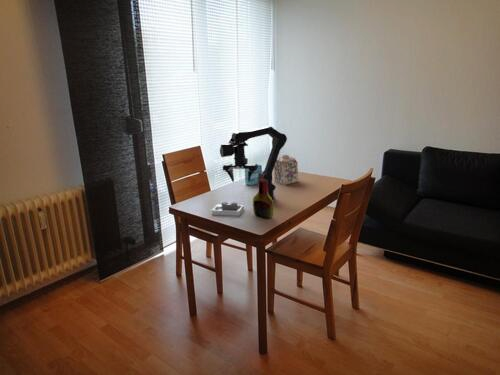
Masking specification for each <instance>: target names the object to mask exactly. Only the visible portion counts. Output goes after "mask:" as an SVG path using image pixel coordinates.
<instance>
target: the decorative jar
mask: <svg viewBox="0 0 500 375" xmlns="http://www.w3.org/2000/svg"><path fill="white" fill-rule="evenodd" d="M298 166H299V165H298V161H297V159H296V158H295V157H292V156H290V155H289V154H283V155H281V157H278V158H277V161H276V163H275V166H274V169H273V174H274V175H273V176H274V177H273V178H274V182H276V183H278V184H280V185H283V186H286V185H290V184H294V183H297V182H298V180H299V172H298V171H299V168H298Z"/></svg>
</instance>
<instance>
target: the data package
mask: <svg viewBox="0 0 500 375" xmlns="http://www.w3.org/2000/svg"><path fill="white" fill-rule="evenodd" d="M256 164H257V165H258V169H257V170H256V171H254V172H253V173H252V176H251V179H250V182H248V171H249V170H248V169H244V178H245V179H244V180H245V184H246V185H249V186H253V185H257V184H259V183H258V179H257V178H258V177H259V173H263V168H262V164H258V163H256Z"/></svg>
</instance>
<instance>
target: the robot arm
mask: <svg viewBox="0 0 500 375" xmlns="http://www.w3.org/2000/svg"><path fill="white" fill-rule="evenodd" d="M265 135H268V136H269V137H270V138H271V146H272V147H271V150H270V153H269V156H268V158H267V162H266V165H265V167H264V170H262V173H259V177H258V178H257V179H258V183H257V184H259V181H260V180H261V179H266V180H268V194H269V196H270V197H271V198H272V200H273V201H274V199H275V197H276V196H275V191H276V185H275V184H273V173H274V166H275V163H276V161H277V159H278V158H279V154H280V151H281V150H282V149H283V147H284V146H285V145H286V143H287V140H288V137H287V135H286V134H285V133H281V132H279V131H278V130H276V129H275V128H274V127H273V126H272V125H271V126H269V125H266V126H264V127H260V128H255V129H250V130H235V131H233V133H232V134H231V137H230V139H229V140H228V143H221V144H220V147H219V148H220V149H219V154H220V157H222V158H225V157H233V156H234V157H233V160H234V165H233V163H232V162H230V163H229V162H227V163H225V164H223V165H222V171H225V173H227V175H228V177H229V178H230V180H231V181H232V183H234V181H235V177H234V169H236V170H238V169H239V170H241V169H242V170H243V169H244V170H245V169H248V170H249V171H248V182H250V179H251V176H252V173H253V172H254V171H256V170H257V169H258V165H259V164H258V163H250V164H249V163H248V161H249V159H248V158H247V157H246V154H245V152H246V151H245V147H248V146H249V144H248V143H246V142H247V141H249V140H250V139H252V138H258V137H261V136H265ZM248 164H249V165H248ZM257 164H258V165H257Z"/></svg>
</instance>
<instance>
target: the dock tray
mask: <svg viewBox="0 0 500 375" xmlns="http://www.w3.org/2000/svg"><path fill="white" fill-rule="evenodd" d="M218 205H222V203H221V204H216V205H215V206H214V207H213V208H212V209H211V214H212V215H218V216H236V217H237V216H239V217H240V216H241V214H242V213H243V211H244V210H245V209H244V208H245V207H244V205H243V204H242V205H241V204H237V209H238V211H231V210H222V208H221V209H218V208H217V206H218Z"/></svg>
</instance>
